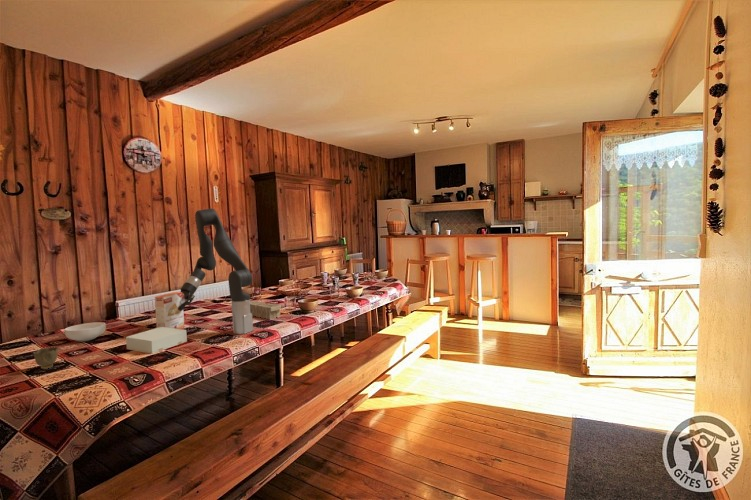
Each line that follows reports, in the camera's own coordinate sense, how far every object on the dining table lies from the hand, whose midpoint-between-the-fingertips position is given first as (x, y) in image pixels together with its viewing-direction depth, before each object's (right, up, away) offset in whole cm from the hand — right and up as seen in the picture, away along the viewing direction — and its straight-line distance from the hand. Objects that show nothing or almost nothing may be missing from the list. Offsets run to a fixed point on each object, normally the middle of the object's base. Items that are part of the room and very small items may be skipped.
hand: (174, 309), depth 199 cm
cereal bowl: (-40, -14, -11) cm, 43 cm away
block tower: (+39, -9, +29) cm, 50 cm away
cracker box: (-1, -12, -2) cm, 12 cm away
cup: (-25, -16, -50) cm, 58 cm away
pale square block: (+5, -13, -24) cm, 28 cm away
